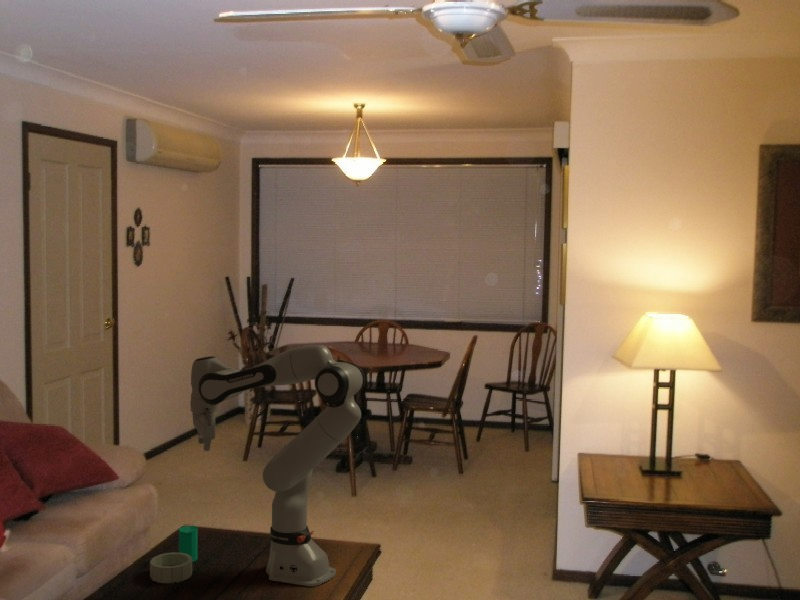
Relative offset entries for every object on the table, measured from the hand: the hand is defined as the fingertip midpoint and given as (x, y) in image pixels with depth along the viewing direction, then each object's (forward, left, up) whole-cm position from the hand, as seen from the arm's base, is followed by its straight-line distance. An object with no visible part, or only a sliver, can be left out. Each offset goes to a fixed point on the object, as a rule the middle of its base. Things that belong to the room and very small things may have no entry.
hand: (204, 446), depth 280 cm
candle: (+1, +6, -37) cm, 37 cm away
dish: (-3, +18, -36) cm, 41 cm away
